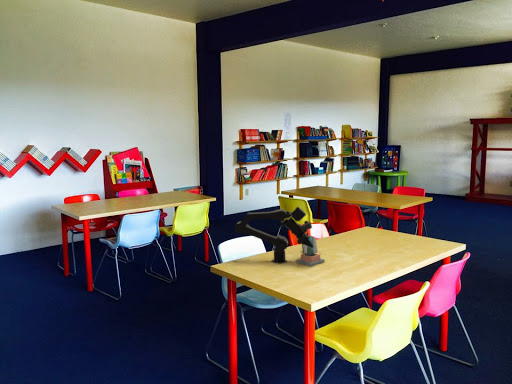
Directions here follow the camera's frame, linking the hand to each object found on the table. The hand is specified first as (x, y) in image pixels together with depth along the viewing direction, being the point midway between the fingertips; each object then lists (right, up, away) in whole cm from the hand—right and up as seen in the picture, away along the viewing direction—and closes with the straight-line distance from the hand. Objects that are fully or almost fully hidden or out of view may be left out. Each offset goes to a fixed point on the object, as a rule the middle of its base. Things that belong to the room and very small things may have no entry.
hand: (312, 246), depth 252 cm
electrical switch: (0, -7, +22) cm, 23 cm away
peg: (-1, -6, +1) cm, 7 cm away
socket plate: (-1, -9, +1) cm, 10 cm away
